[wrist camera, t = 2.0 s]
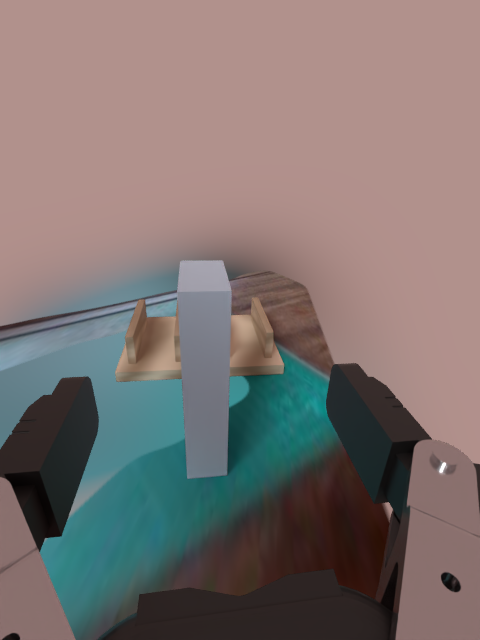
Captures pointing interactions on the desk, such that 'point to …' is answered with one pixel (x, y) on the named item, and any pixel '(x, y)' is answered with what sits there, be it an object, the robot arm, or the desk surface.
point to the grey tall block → (205, 364)
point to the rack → (164, 346)
